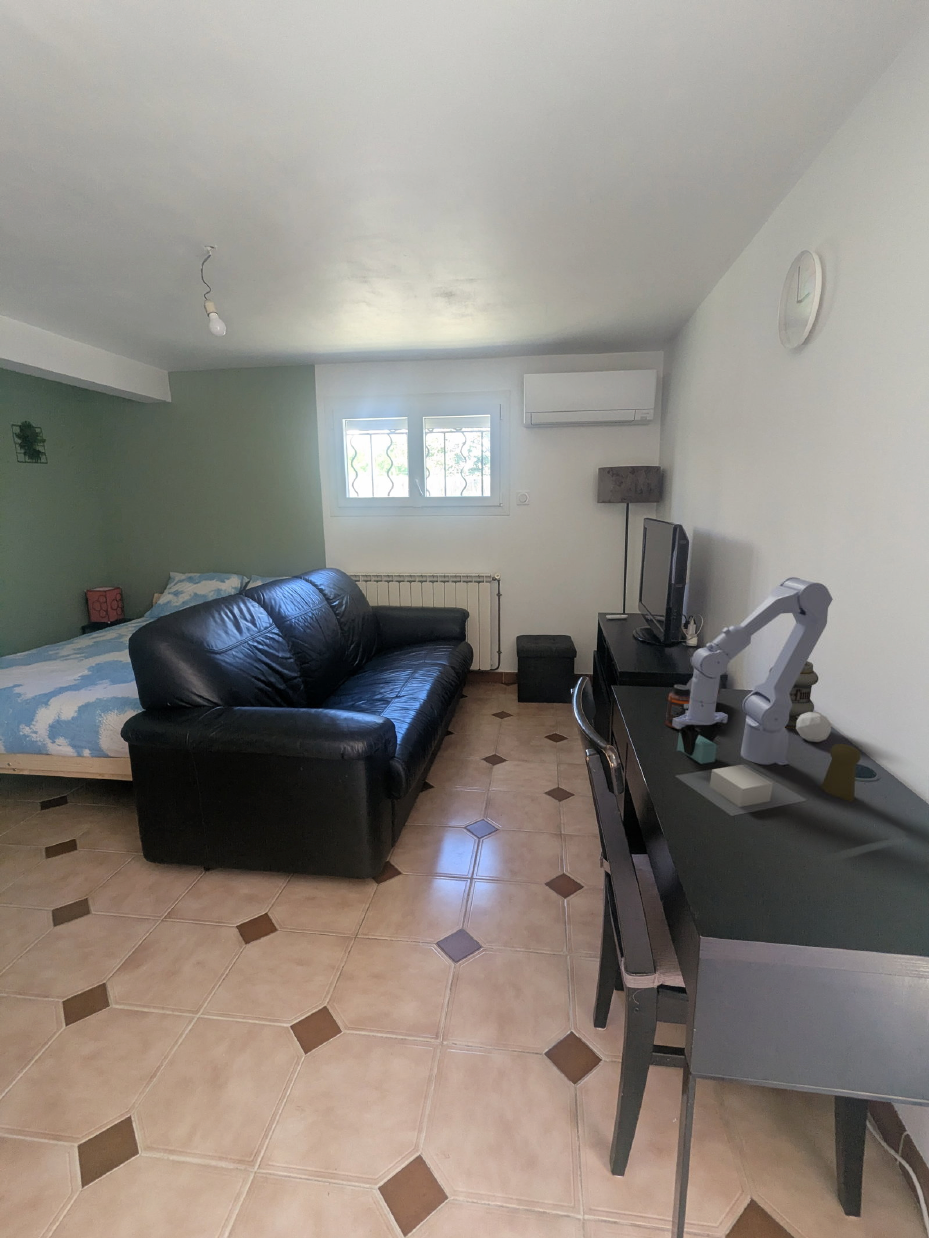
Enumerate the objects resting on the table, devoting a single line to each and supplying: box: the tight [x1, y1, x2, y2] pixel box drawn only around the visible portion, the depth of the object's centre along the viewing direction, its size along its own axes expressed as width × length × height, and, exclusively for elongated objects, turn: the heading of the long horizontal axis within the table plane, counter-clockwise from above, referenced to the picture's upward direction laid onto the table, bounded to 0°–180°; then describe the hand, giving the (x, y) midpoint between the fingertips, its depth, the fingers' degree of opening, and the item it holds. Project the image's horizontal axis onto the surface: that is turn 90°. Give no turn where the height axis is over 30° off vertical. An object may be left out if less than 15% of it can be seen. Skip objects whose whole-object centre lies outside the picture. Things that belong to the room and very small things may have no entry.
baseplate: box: [675, 763, 808, 817], centre depth 115 cm, size 20×16×1 cm
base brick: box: [710, 764, 773, 807], centre depth 112 cm, size 8×8×4 cm
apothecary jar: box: [768, 660, 819, 730], centre depth 151 cm, size 12×12×18 cm
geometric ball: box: [795, 711, 832, 743], centre depth 141 cm, size 8×8×8 cm
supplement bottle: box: [665, 684, 690, 730], centre depth 147 cm, size 6×6×11 cm
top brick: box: [676, 732, 718, 765], centre depth 129 cm, size 4×8×5 cm, turn 19°
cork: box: [821, 743, 861, 803], centre depth 114 cm, size 6×6×11 cm
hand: (695, 752), depth 129 cm, fingers closed on top brick, 4 cm apart
